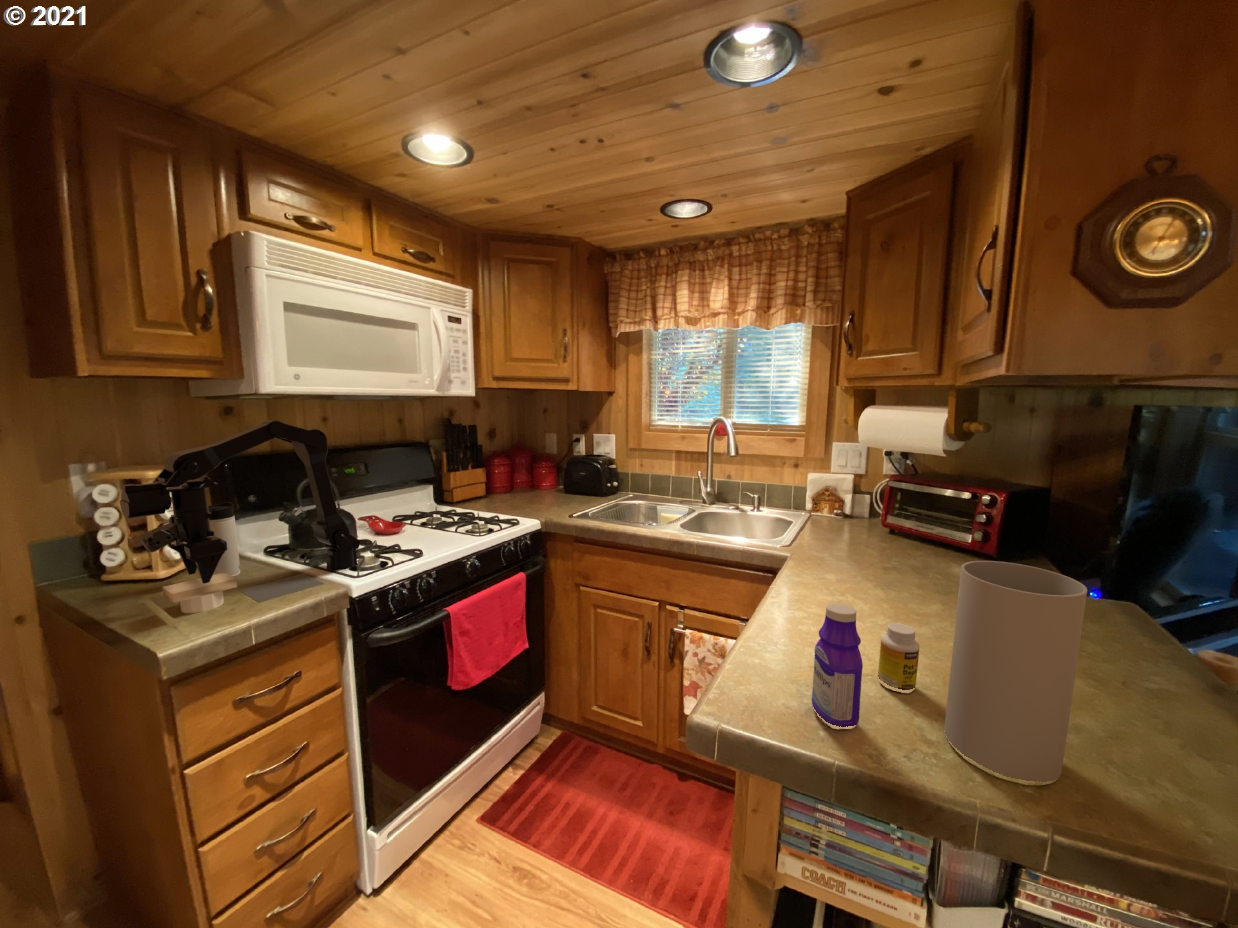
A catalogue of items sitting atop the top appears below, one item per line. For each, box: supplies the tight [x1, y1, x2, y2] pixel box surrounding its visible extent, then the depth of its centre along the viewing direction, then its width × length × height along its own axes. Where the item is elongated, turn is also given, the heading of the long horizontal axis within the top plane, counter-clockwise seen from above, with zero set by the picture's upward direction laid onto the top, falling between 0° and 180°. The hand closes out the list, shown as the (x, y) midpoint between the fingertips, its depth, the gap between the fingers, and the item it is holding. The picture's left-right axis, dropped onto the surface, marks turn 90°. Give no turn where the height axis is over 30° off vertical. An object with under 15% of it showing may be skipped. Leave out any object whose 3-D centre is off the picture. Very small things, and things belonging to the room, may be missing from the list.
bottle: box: [811, 602, 864, 727], centre depth 72 cm, size 7×6×17 cm
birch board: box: [162, 572, 238, 604], centre depth 108 cm, size 11×7×2 cm, turn 146°
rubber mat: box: [239, 573, 325, 604], centre depth 119 cm, size 14×12×1 cm
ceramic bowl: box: [179, 590, 224, 614], centre depth 108 cm, size 7×7×4 cm
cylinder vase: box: [943, 560, 1088, 782], centre depth 64 cm, size 12×12×25 cm
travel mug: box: [208, 501, 241, 578], centre depth 126 cm, size 6×7×20 cm
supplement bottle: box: [877, 622, 920, 690], centre depth 81 cm, size 6×6×10 cm
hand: (198, 578), depth 107 cm, fingers open, 9 cm apart
